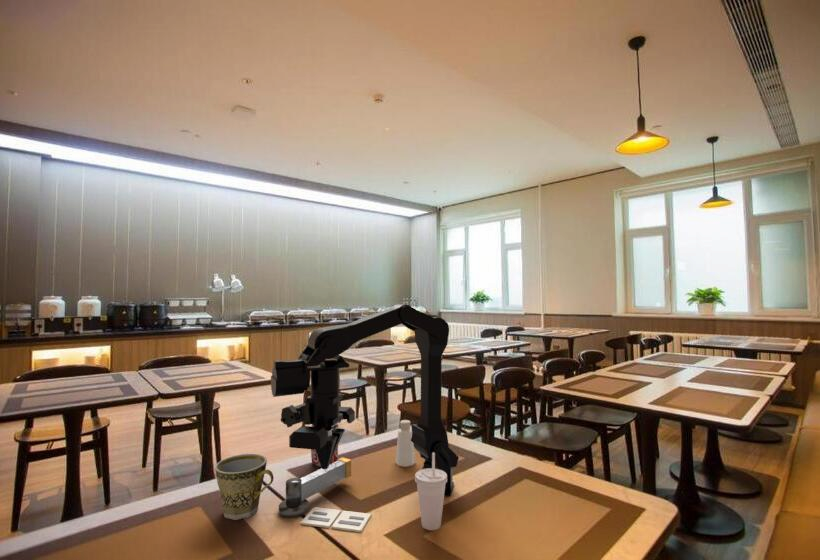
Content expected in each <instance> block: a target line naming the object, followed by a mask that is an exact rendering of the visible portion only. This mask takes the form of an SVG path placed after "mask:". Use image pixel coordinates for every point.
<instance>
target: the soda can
mask: <svg viewBox="0 0 820 560" xmlns="http://www.w3.org/2000/svg"><path fill="white" fill-rule="evenodd" d="M337 425H338V426H339V423H337ZM311 427H314V426H313V424H311ZM310 452H311V453H310V455H311V456H310V457H311V463H312V464H313V465H314V466H316V467H320V468H321V465H320V462H319V459H318V456H317V453H316V450H313V449H310ZM338 458H339V445H338V446H337V448H336V450H335V453H334V455H333V458H332V460H331V462H330V464H332V463H334V462H336V461H338Z"/></svg>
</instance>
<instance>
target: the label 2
mask: <svg viewBox="0 0 820 560" xmlns="http://www.w3.org/2000/svg"><path fill="white" fill-rule="evenodd" d="M371 517H372V513H366V512H360V511H359V512H357V511H349V510H343V511H341V513H340V514H339V516H338V517H337V518H336V520H335V521H334V522H333V524H332V525H331V529H332V528H333V530H340V531H341V530H342V531H347V532H348V531H349V532H356V533H363V530H364V528H365V527H366V525H367V524H368V522H369V520H370V519H371Z"/></svg>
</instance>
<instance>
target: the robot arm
mask: <svg viewBox="0 0 820 560" xmlns="http://www.w3.org/2000/svg"><path fill="white" fill-rule="evenodd" d="M448 323H449V322H447V321H446V320H445V319H444V318H442V317H436V316H432V315H429V314H427V313H425V312H422V311H420V310H417V309H416V308H414V307H412V306H411V305H409V304H402V303H399V304H398V303H397V304H394V305H393V306H392V307H390V308H387V309H384V310H381V311H379V312H376V313H373V314H371V315H368V316H365V317H363V318H360V319H357V320H355V321H352V322H349V323H345V324H338V325H337V324H336V325H331V326H325V327H319V328H316V329H315V330H313V331H312V332H311V333H310V335H309V337H308V341H307V345H306V347H305V348H304V349H303V351H302V352H301V353H300V355H299V356H298V358H297V359H292V360H290V359H289V360H283V359H278V360H276V359H275V360H274V361H273V367H272V372H271V375H270V388H271V394H272V397H273V398H275V397H284V396H285V397H286V396H292V395H301V394H305V391H308V389H309V387H310V396H308V397H306V398H305V401H304V403H300V404H299V405H296V406H294V405H293V404H290V405H289V406H285V407H283V408H282V409H281V414H280V417H281V418H280V422H281V423H282V424H284V425H285V426H286V428H291V427H293V425H297V424H301V423H303V425H301V426H300V427H299V428H297V429H295V430H293V432H292V433H291V434H290V435H288V443H289V444H288V445H289V448H291V449H302V450H303V449H304V450H311V449H313V450H316V453H317V456H318V459H319V462H320V465H321V467H320V469H321V468H322V469H327V468H328V467H329V465H330V462H331V460H332V458H333V455H334V453H335V450H336V448H337V446H338V447H339V443H340V441H341V439H342V437H343V435H344V433H345V431H346V430H345V428H339V423H340V422H342V420H346V422H347V424H352V423H353V422H354V421H356V420H355V419H356V412H355V410H354V408H352V407H350V406H340V401H341V400H342V399H344V397H343V395H344V394H343V393H340V369H343V368H345V369H346V368H349V367H350V363H348V361H346V360H345V359H344V357H343V356H342V355H341V354H344V352H346V351H348V350H349V349H350V348H351V347H352V346H353V345H355V344H356V343H358V342H359V341H362V340H364V339H366V338H368V337H371V336H374V335H377V334H379V333H381V332H384V331H386V330H388V329H389V330H390V329H391V328H394V327H397V326H399V325H402V326H404V327H405V328H406V329H408V330H411V331H412V332H414V338H415V344H416V346H417V348H418V352H419V353H420V416H419V419H418V421H417V423H416V424H415V423H412V424H411V425H410V429H411V430H412V438H411V442H413V445H414V450H416V451H417V453H419V457H420V458H422V459H424V461H423V465H422V468H421V470H422V469H426V468H432V453H433V452H434V453H435V469H439V470H442V471H444V472H445V473H446V474H447V482H446V484H445V492H444V497H451V496H452V491H453V488H454V485H455V484H454V483H455V482H454V481H453V480H454V479H453V468H456V467H457V466H458V462H459V459H460V458H459V456H458V455H457V454H456V453H455V452H454V450H452V449H451V448H450V446H449V445H450V444H449V438H448V432H447V429H446V427H445V424H444V421H443V420H442V370H443V369H442V362H443V361H442V358H443V355H444V352H445V351H446V348H447V346H448V341H449V335H450V326H449V324H448ZM337 423H338V425H337ZM312 424H313V426H314V427H312ZM305 425H306V426H305ZM310 425H311V426H310Z"/></svg>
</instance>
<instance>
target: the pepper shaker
mask: <svg viewBox="0 0 820 560" xmlns="http://www.w3.org/2000/svg"><path fill="white" fill-rule="evenodd" d="M399 427H400V429H399V430H398V433H397V442H396V450H395V451H396V452H395V459H394V461H395V465H397V466H400V467H404V468H406V467H411V466H413V465H415V464H416V454H415V448H414V445H413V442H411V438H412V429H411V421H410V420H408V419H402V420H401V421H400V423H399Z"/></svg>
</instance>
